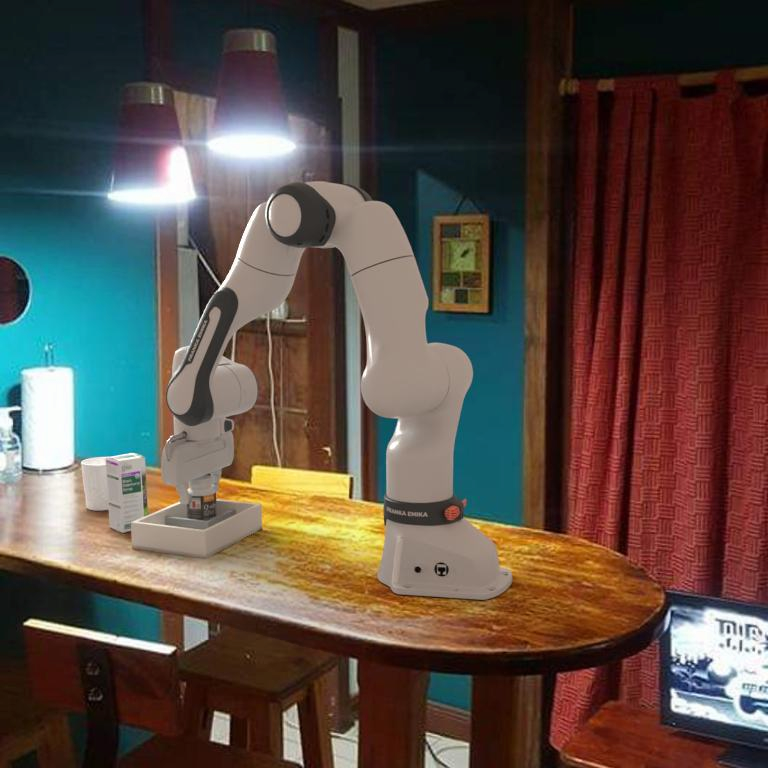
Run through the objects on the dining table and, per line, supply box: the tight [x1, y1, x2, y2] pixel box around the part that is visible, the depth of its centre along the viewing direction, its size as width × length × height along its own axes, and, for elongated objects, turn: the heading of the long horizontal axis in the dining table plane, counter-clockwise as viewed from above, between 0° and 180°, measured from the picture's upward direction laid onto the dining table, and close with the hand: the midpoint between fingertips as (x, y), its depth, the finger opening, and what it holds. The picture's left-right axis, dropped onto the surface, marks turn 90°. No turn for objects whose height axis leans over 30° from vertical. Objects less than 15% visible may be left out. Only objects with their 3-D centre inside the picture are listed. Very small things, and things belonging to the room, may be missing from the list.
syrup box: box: [105, 452, 149, 534], centre depth 203 cm, size 6×6×14 cm
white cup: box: [81, 456, 109, 512], centre depth 220 cm, size 8×8×10 cm
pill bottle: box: [186, 474, 217, 521], centre depth 202 cm, size 6×6×10 cm
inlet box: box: [130, 498, 263, 559], centre depth 197 cm, size 16×20×5 cm
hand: (199, 497), depth 201 cm, fingers open, 8 cm apart
